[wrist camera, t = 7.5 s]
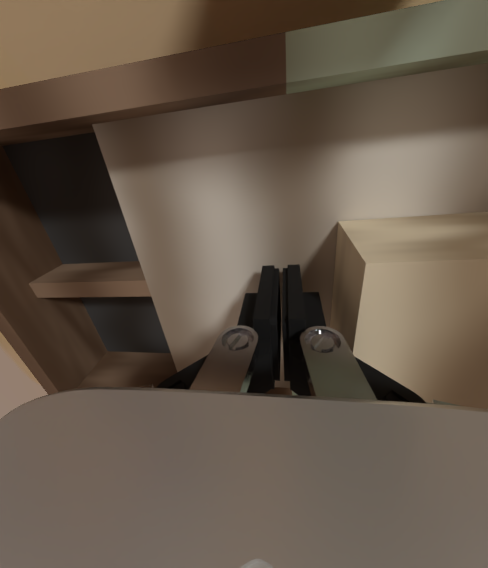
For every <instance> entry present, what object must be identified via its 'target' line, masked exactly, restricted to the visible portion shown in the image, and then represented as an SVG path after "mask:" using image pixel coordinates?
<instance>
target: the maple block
mask: <svg viewBox="0 0 488 568" xmlns="http://www.w3.org/2000/svg"><path fill="white" fill-rule="evenodd" d="M330 328H332V329H335V330H337V331H338V332H339V333H341V334H342V335H343V337H344V338H345V340H346V342H347V343H348V345H349V347H350V349H351V351H352V353H353V355H354V356H355V357H356V358H358V359H360V360H361V361H363V362H365V363H366V364H368V365H370V366H371V367H373V368H375V369H376V370H378V371H380V372H381V373H383V374H385V375H386V376H388V377H390V378H391V379H393V380H395V381H396V382H398V383H400V384H401V385H403V386H405V387H406V388H408V389H410V390H411V391H413V392H415V393H416V394H417V395H419V396H420V397H421V398H422V399H423V400H424V401H425V402H429V403H431V402H432V400H433V399H434V400H438V401H443V402H447V403H451V404H456V405H460V406H465V407H475V408H485V409H488V212H474V213H459V214H444V215H428V216H413V217H397V218H382V219H367V220H351V221H338V231H337V244H336V256H335V269H334V282H333V294H332V307H331V320H330Z"/></svg>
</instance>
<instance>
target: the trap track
mask: <svg viewBox="0 0 488 568" xmlns="http://www.w3.org/2000/svg"><path fill="white" fill-rule="evenodd" d="M474 212H488V0H444V1H439V2H434V3H429V4H424V5H419V6H414V7H409V8H404V9H399V10H394V11H389V12H384V13H379V14H374V15H369V16H364V17H359V18H354V19H349V20H344V21H339V22H334V23H329V24H324V25H319V26H314V27H309V28H304V29H299V30H294V31H289V32H284V33H279V34H274V35H269V36H264V37H259V38H254V39H249V40H244V41H239V42H234V43H229V44H224V45H219V46H214V47H209V48H204V49H199V50H194V51H189V52H184V53H179V54H174V55H169V56H164V57H159V58H154V59H149V60H144V61H139V62H134V63H129V64H124V65H119V66H114V67H109V68H104V69H99V70H94V71H89V72H84V73H79V74H74V75H69V76H64V77H59V78H54V79H49V80H44V81H39V82H34V83H29V84H24V85H19V86H14V87H9V88H4V89H0V331H1V333H2V334H3V335H4V337H5V338H6V339H7V341H8V342H9V343H10V345H11V346H12V347H13V349H14V350H15V351H16V353H17V354H18V355H19V356H20V358H21V359H22V360H23V362H24V363H25V364H26V366H27V367H28V368H29V370H30V371H31V372H32V374H33V375H34V376H35V378H36V379H37V380H38V381H39V383H40V384H41V385H42V387H43V388H44V389H45V391H46V392H47V393H48V395H50V394H53V393H57V392H60V391H66V390H72V389H77V388H89V387H138V386H145V385H151V384H153V387H157V386H158V385H159V384H160V383H161V382H163V381H164V380H165V379H167V378H169V377H170V376H172V375H174V374H176V373H177V372H179V371H181V370H182V369H184V368H186V367H188V366H189V365H191V364H193V363H194V362H196V361H198V360H200V359H201V358H203V357H205V356H206V355H208V354H209V353H210V351H211V349H212V347H213V345H214V344H215V342H216V340H217V338H218V336H219V335H220V334H221V333H222V332H223V331H224V330H226V329H227V328H230V327H233V326H237V324H238V320H239V316H240V312H241V308H242V304H243V300H244V296H245V293H258V287H259V282H260V276H261V271H262V266H268V265H274V266H275V268H279V275H280V299H281V361H280V381H275V389H271V390H269V391H268V392H267V393H265V394H280V395H297V394H296V393H294V392H293V391H292V390H290V381H284V360H283V337H282V284H283V268H288V265H296V264H300V272H301V280H302V289H303V292H319V295H320V300H321V304H322V309H323V313H324V318H325V323H326V327H330V320H331V307H332V294H333V282H334V269H335V256H336V244H337V231H338V221H351V220H367V219H382V218H397V217H413V216H428V215H444V214H459V213H474Z"/></svg>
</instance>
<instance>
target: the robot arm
mask: <svg viewBox="0 0 488 568" xmlns="http://www.w3.org/2000/svg"><path fill="white" fill-rule="evenodd" d="M282 337H283V360H284V381H290V390H292V391H293V392H294V393H296V394H297V395H280V394H265V393H267V392H268V391H269V390H271V389H275V381H280V361H281V299H280V275H279V268H275V266H274V265H268V266H262V271H261V276H260V282H259V287H258V293H245V296H244V300H243V304H242V308H241V312H240V316H239V320H238V324H237V326H233V327H230V328H227V329H226V330H224V331H223V332H222V333H221V334H220V335H219V336H218V338H217V340H216V342H215V344H214V345H213V347H212V349H211V351H210V353H209V354H208V355H206V356H205V357H203V358H201V359H200V360H198V361H196V362H194V363H193V364H191V365H189V366H188V367H186V368H184V369H182V370H181V371H179V372H177V373H176V374H174V375H172V376H170V377H169V378H167V379H165V380H164V381H163V382H161V383H160V384H159V385H158V386H157V387H153V384H151V385H145V386H138V387H89V388H77V389H72V390H66V391H60V392H57V393H53V394H50V395H46V396H43V397H40V398H37V399H34V400H32V401H30V402H27V403H25V404H22V405H20V406H19V407H17V408H15V409H14V410H12V411H10V412H9V413H8V414H6V415H5V416H4V417H2V418H1V419H0V568H488V409H485V408H475V407H465V406H460V405H456V404H451V403H447V402H443V401H438V400H434V399H433V400H432V402H431V403H429V402H425V401H424V400H423V399H422V398H421V397H420V396H419V395H417V394H416V393H415V392H413V391H411V390H410V389H408V388H406V387H405V386H403V385H401V384H400V383H398V382H396V381H395V380H393V379H391V378H390V377H388V376H386V375H385V374H383V373H381V372H380V371H378V370H376V369H375V368H373V367H371V366H370V365H368V364H366V363H365V362H363V361H361V360H360V359H358V358H356V357H355V356H354V355H353V353H352V351H351V349H350V347H349V345H348V343H347V342H346V340H345V338H344V337H343V335H342V334H341V333H339V332H338V331H337V330H335V329H332V328H330V327H326V323H325V318H324V313H323V309H322V304H321V300H320V295H319V292H303V289H302V280H301V272H300V264H296V265H288V268H283V284H282Z"/></svg>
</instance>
